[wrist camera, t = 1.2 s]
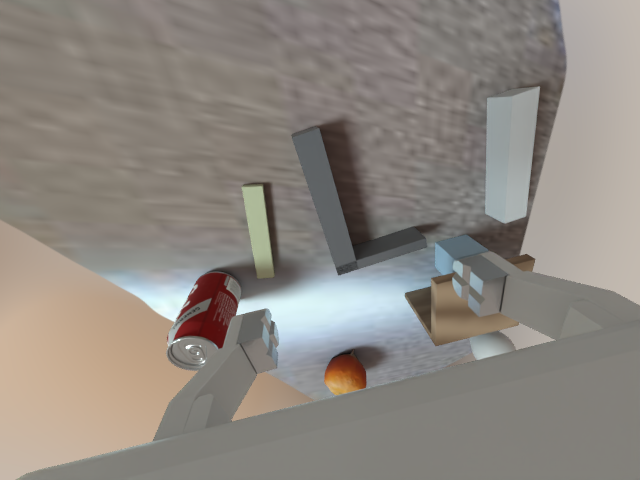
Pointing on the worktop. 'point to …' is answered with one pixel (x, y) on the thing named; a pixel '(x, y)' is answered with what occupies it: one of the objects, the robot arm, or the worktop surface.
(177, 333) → the soda can
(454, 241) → the block
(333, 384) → the fruit
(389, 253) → the hook tool
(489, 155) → the grey stick
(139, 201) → the worktop surface
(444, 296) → the shelf
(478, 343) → the lightbulb
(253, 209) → the pale green stick
